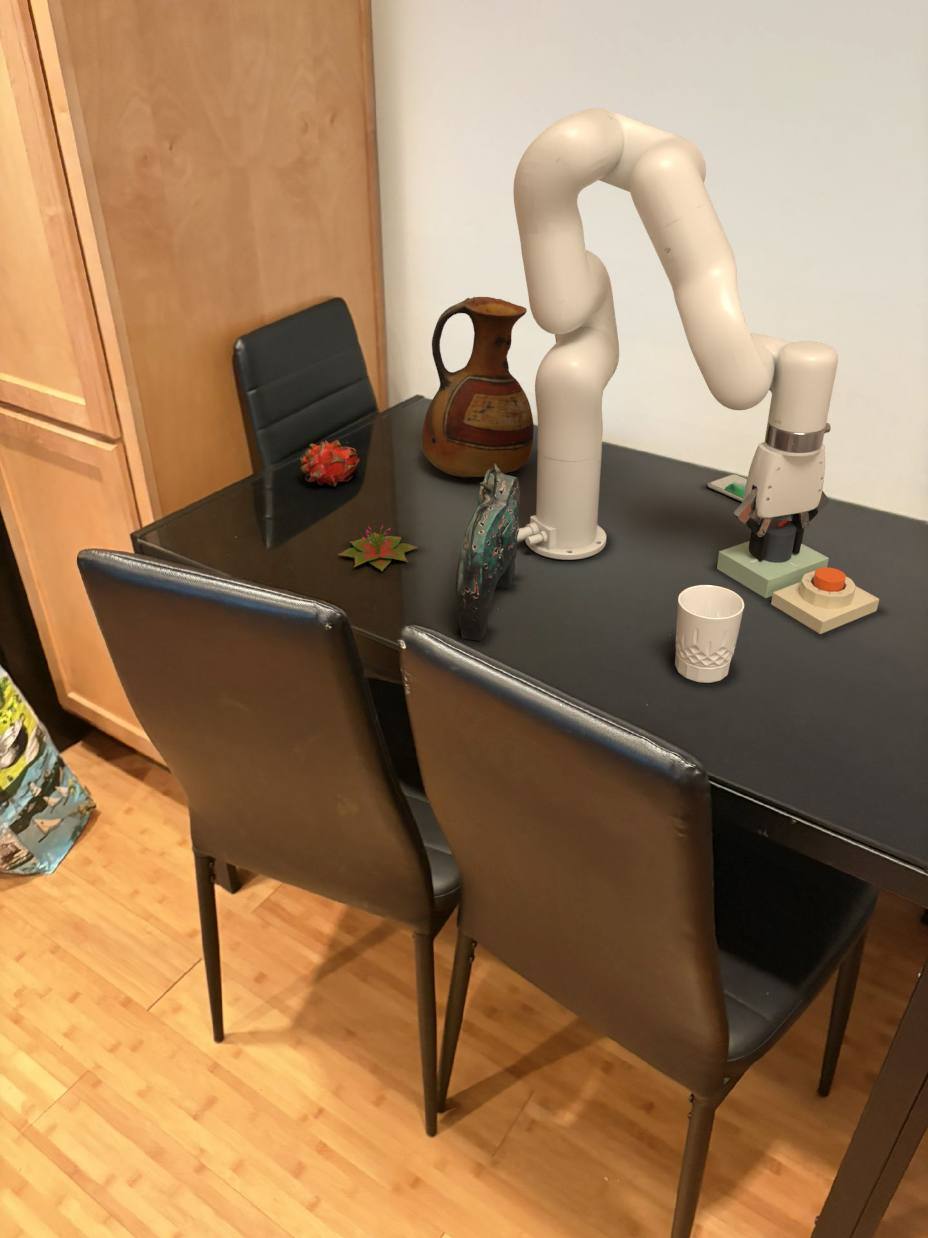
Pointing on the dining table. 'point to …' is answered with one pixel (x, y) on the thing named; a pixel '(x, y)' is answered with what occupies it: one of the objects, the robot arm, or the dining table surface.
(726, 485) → the smartphone
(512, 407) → the ceramic pitcher
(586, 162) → the robot arm
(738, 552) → the panel
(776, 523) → the program dial
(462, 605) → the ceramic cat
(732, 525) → the dining table surface
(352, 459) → the dragon fruit
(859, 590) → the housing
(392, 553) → the lily flower
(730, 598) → the white cup
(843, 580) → the button
